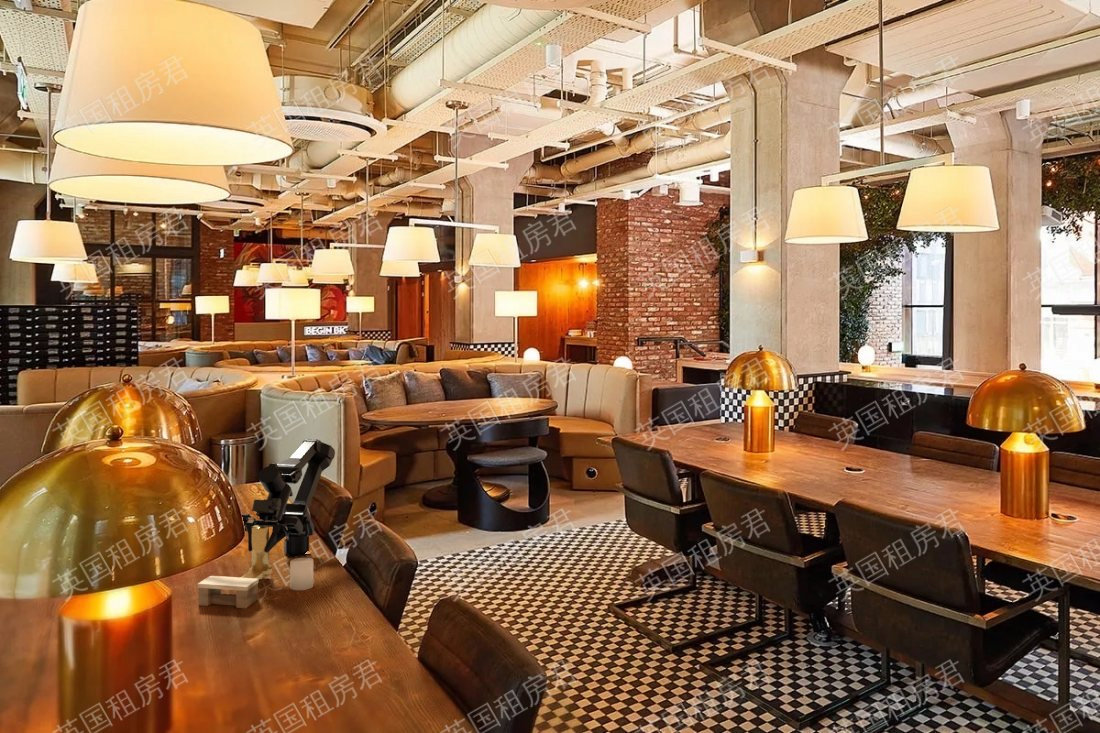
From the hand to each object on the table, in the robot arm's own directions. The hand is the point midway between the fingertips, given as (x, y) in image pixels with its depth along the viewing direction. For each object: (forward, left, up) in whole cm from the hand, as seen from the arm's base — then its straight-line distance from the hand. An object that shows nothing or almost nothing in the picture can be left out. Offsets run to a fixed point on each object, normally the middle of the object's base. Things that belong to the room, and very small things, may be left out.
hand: (257, 551), depth 206 cm
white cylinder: (-9, +10, -8) cm, 16 cm away
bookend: (+1, +1, -7) cm, 7 cm away
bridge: (+10, +12, -8) cm, 18 cm away
